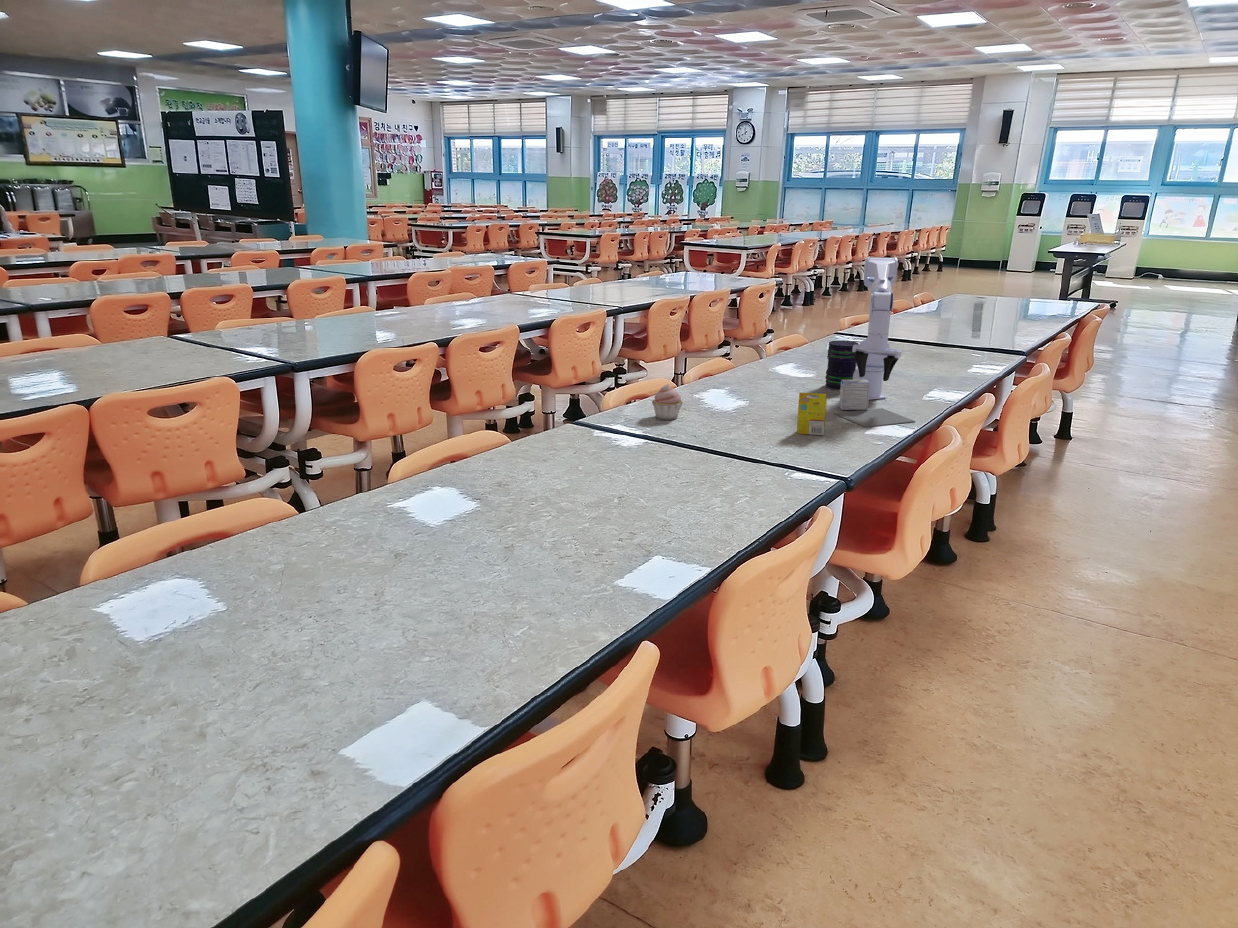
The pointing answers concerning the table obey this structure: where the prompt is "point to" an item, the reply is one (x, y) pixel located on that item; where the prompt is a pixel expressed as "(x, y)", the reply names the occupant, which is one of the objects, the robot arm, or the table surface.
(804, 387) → the table surface
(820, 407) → the crayon box
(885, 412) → the mat
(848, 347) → the storage jar
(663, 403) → the cupcake
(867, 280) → the robot arm
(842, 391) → the medicine box
